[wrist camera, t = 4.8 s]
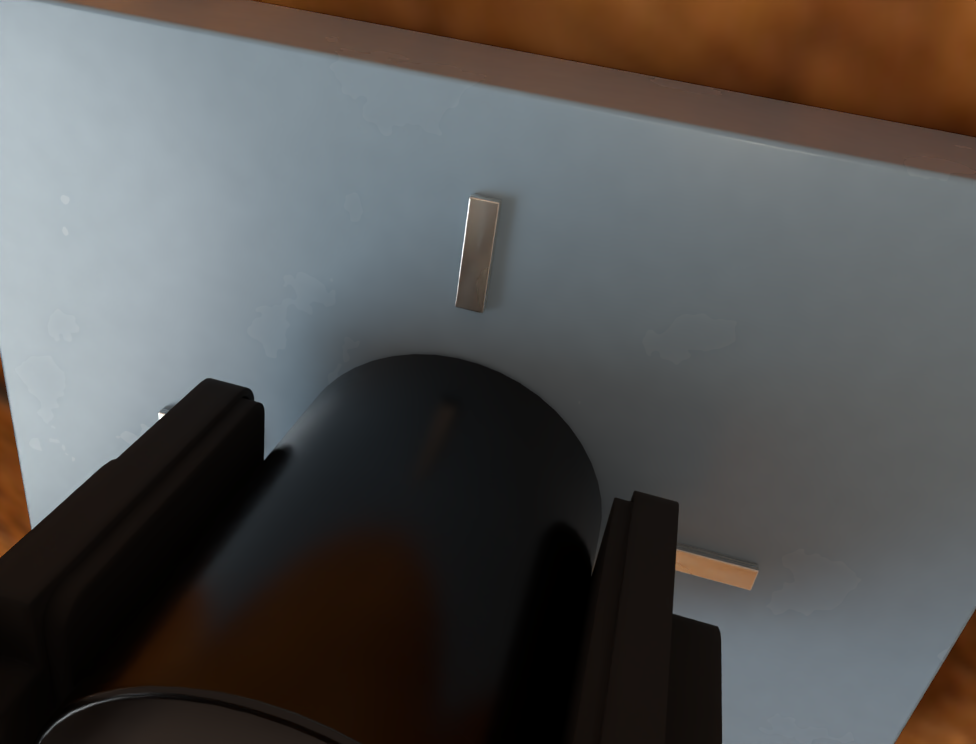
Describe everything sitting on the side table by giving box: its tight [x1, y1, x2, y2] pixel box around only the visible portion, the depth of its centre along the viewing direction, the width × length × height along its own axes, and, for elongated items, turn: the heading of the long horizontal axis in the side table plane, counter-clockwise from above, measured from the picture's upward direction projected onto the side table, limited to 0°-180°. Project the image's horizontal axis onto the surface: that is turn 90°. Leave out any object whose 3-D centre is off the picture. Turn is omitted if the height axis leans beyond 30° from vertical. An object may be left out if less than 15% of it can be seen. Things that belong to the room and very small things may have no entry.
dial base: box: [0, 0, 976, 744], centre depth 13 cm, size 14×11×3 cm
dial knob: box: [33, 354, 602, 744], centre depth 9 cm, size 4×4×6 cm
